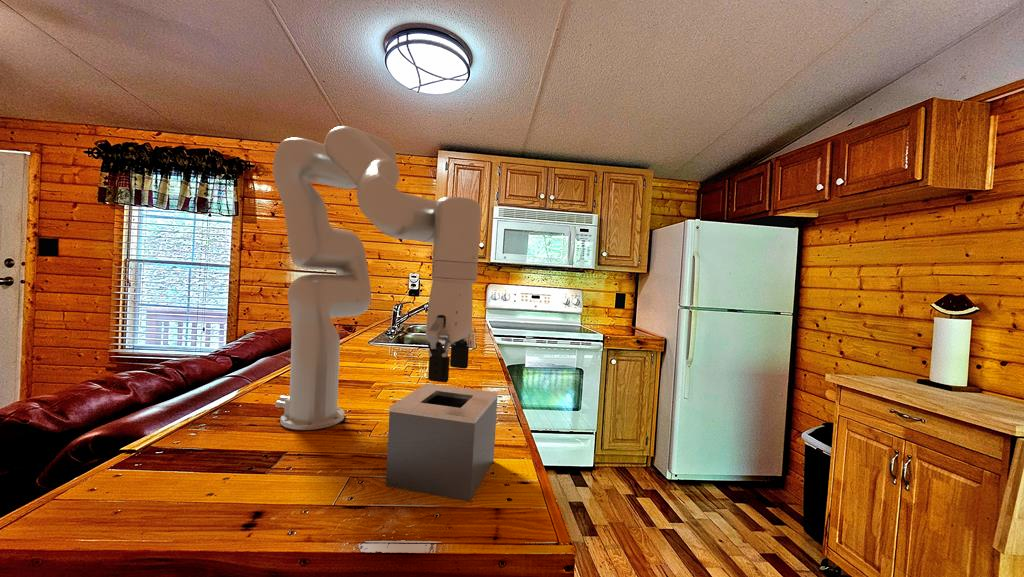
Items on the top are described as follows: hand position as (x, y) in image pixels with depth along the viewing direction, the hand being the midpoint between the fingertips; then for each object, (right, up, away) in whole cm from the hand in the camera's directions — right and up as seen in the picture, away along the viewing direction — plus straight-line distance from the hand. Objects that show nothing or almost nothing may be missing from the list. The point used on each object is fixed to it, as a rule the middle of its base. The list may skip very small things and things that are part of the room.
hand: (449, 373), depth 71 cm
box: (-1, -17, +1) cm, 17 cm away
